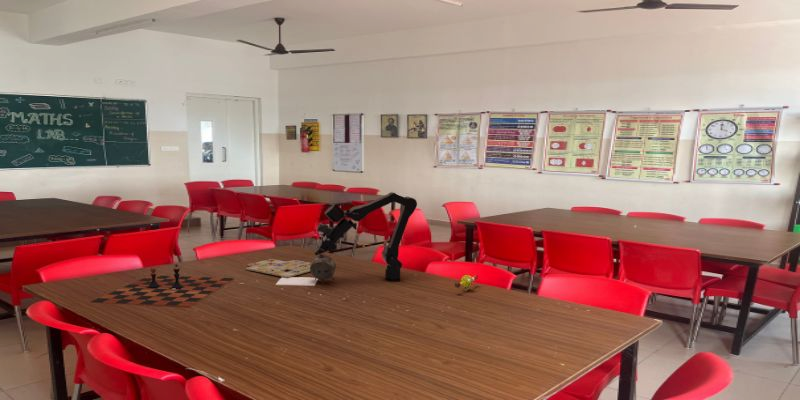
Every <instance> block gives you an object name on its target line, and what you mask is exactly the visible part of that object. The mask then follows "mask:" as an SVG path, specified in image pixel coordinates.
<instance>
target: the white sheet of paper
mask: <svg viewBox="0 0 800 400" xmlns="http://www.w3.org/2000/svg"><path fill="white" fill-rule="evenodd" d="M318 280H319V279H316V280H315V277H308V276H307V277H306V276H304V277H299V276H298V277H297V276H292V277H288V278H286V277H281V276H280V278H279V280H278V281H277V282H276V284H275V286H301V287H302V286H306V287H308V286H309V287H310V286H311V287H315V286H316V285H317V283H318Z"/></svg>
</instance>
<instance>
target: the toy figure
mask: <svg viewBox="0 0 800 400" xmlns="http://www.w3.org/2000/svg"><path fill="white" fill-rule="evenodd" d="M477 280H479V275H477V274H474V275H472V276H471V275H469V274H466V275H463V276H462V277H461V280H460V282H459V281H456V282H454V287H455V288H457V289H459V288H460V287H461V286H463V287H464V292H469V291H470V289H469V288H470V287H472V286H473V285H474V281H477Z"/></svg>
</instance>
